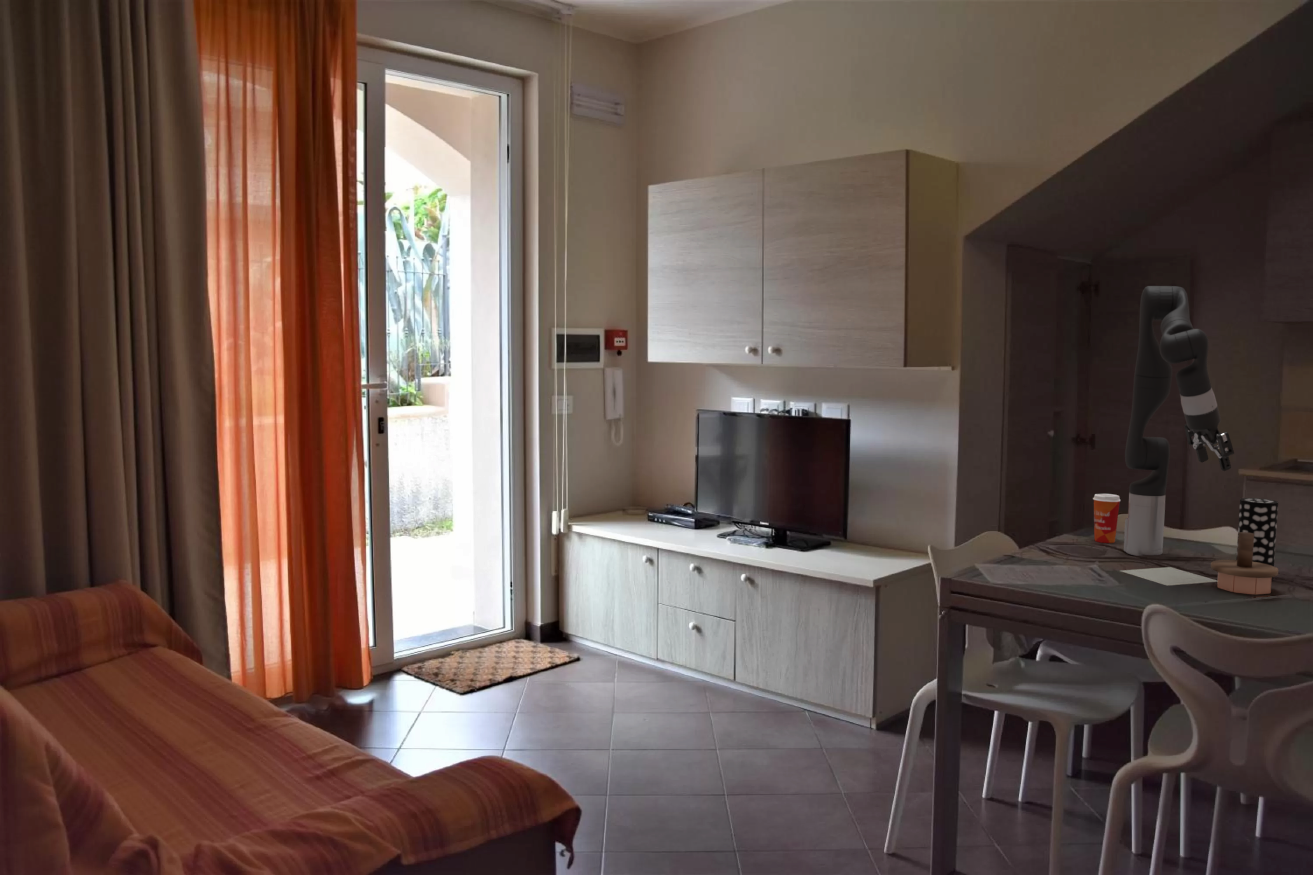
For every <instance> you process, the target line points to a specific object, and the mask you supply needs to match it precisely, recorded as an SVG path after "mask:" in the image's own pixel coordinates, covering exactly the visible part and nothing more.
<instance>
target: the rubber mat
mask: <svg viewBox="0 0 1313 875" xmlns="http://www.w3.org/2000/svg"><path fill="white" fill-rule="evenodd" d="M1120 572H1121V573H1125V574H1128V575H1131V576H1135V577H1138V578H1142V579H1143V580H1144V579H1145V580H1147V581H1150V582H1154V583H1158V584H1160V585H1164V586H1167V587H1169V586H1179V585H1193V584H1206V583H1216V582H1217V581H1218V579H1217V580H1216V579H1214V578H1213V579H1212V578H1209V577H1206V576H1203V575H1199V574H1196V573H1194V572H1189V571H1185V570H1181V569H1177V568H1175V567H1171V566H1167V567H1153V568H1138V569H1137V568H1136V569H1126V570H1120Z"/></svg>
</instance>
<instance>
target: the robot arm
mask: <svg viewBox="0 0 1313 875" xmlns="http://www.w3.org/2000/svg"><path fill="white" fill-rule="evenodd" d="M1139 306H1140V307H1139V325H1138V326H1139V327H1138V328H1139V330H1138V331H1139V332H1138V343H1137V344H1138V345H1137V346H1138V348H1137V354H1136V360H1135V361H1136V362H1135V369H1134V377H1133V390H1132V403H1131V404H1132V405H1131V412H1130V413H1131V414H1130V420H1129V427H1128V433H1127V438H1126V443H1125V450H1124V459H1125V464H1126V467H1127V468H1128V469H1131V470H1140V471H1141V470H1142V471H1143V470H1145V471H1151V472H1150V474H1148V476H1146V477H1144V478H1141V479H1138V480H1135V481H1131V483H1130V484H1129V488H1128V489H1129V490H1128V491H1129V492H1128V511H1127V517H1126V518H1125V519H1124V520H1125V521H1124V538H1123V551H1124V552H1125V553H1126V554H1129V555H1131V556H1137V557H1138V556H1139V557H1141V556H1159V555H1163V551H1164V550H1163V546H1164V529H1165V515H1166V514H1165V513H1166V512H1165V510H1166V494H1167V493H1166V491H1167V486H1168V485H1167V484H1168V473H1169V466H1170V456H1171V447H1170V442H1169V440H1168V439H1167V438H1166V437H1162V436H1161V437H1158V436H1156V437H1155V436H1144V433H1145V429H1146V427H1147V425H1148V424H1149V421H1151V420H1150V419H1152V417H1153V416H1154V414H1155V413H1156V411H1158V410H1159V408H1160V407H1161V406H1163V404H1164V402H1165V401H1166V400H1167V399H1168V397H1169V395H1170V393H1171V386H1172V380H1173V378H1172V377H1173V367H1172V365H1174V364H1179V363H1183V362H1188V361H1190V360H1191V361H1192V360H1193V361H1192V363H1190V364H1189V365H1187V366H1185V367H1183V368H1181V369H1179V370H1178V371H1177V372H1176V374H1175V380H1176V381H1175V382H1176V385H1177V389H1178V391H1179V396H1180V405H1181V408H1182V412H1183V416H1184V419H1185V422H1186V423H1185V424H1183V428H1184V431H1185V436H1186V440H1187V444H1188V445H1189V446H1192V447H1193V449H1194V450H1195V451H1196V455H1197V459H1198V462H1199V463H1204V462H1206V461H1208V460H1209V455H1208V451H1207V447H1208V448H1209V450H1210V451H1212V452H1214V454H1215V455H1216V456H1217V457H1218V458H1217V459H1218V462H1219V467H1220V471H1223V472H1225V471H1228V470H1231V468H1232V465H1231V460H1230V456H1232V455H1234V454H1235V451H1234V448H1233V444H1232V442H1231V441H1232V440H1231V437H1230V434H1229V433H1228V432H1227V431H1226V432H1221V431H1220V430H1219V425H1220V423H1221V421H1222V418H1221V415H1220V410H1219V406H1218V402H1217V399H1216V396H1215V392H1214V390H1213V388H1212V383H1211V380H1210V375H1209V372H1208V356H1209V355H1208V354H1209V343H1210V342H1209V338H1208V336H1207V334H1206V332H1205V331H1203V330H1202V329H1200V328H1194V327H1193V326H1194V325H1192V322H1191V319H1190V318H1191V317H1190V305H1189V296H1188V293H1187V291H1186V290H1185V288H1184V287H1181V286H1175V285H1173V286H1172V285H1147V286H1145V287H1144V289H1143V290H1142V293H1141V296H1140V305H1139ZM1154 321H1161V323H1160V333H1161V335H1162V336H1161V337H1160V338H1161V339H1160V341H1158V339H1157V336H1156V334H1155V330H1154V324H1153V323H1154ZM1192 437H1193V438H1192ZM1205 445H1206V446H1207V447H1206V446H1205Z"/></svg>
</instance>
